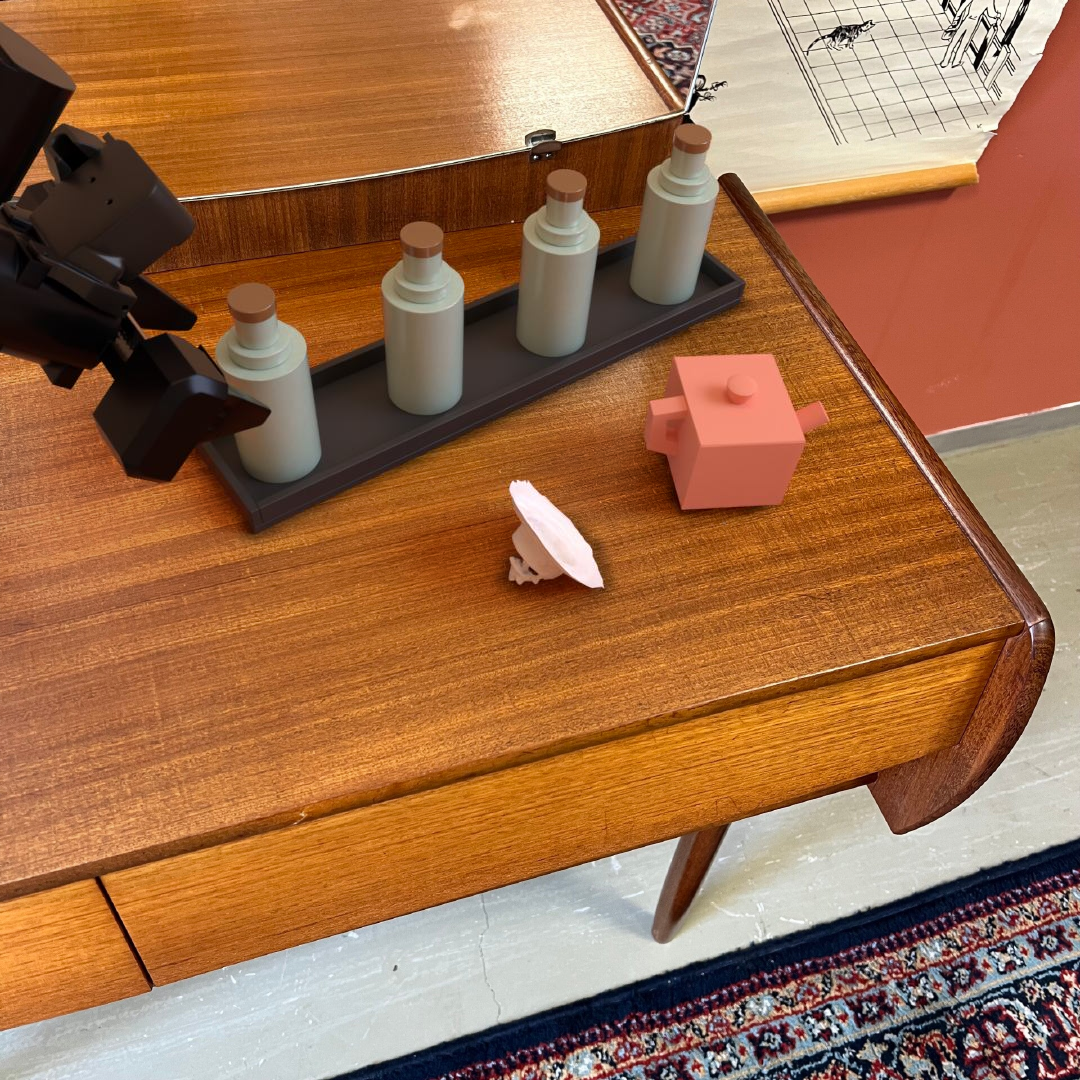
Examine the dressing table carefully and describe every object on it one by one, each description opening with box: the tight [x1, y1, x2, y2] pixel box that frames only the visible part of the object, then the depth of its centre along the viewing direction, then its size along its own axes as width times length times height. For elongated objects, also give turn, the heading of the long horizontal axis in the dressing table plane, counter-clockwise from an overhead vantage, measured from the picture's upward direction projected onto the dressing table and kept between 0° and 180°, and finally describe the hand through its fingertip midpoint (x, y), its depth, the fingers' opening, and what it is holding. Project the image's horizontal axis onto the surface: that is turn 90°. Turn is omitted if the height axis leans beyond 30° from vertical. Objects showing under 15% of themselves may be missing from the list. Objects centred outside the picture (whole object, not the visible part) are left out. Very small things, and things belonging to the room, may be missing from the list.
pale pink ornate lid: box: [508, 479, 605, 589], centre depth 61 cm, size 8×5×8 cm
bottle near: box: [380, 221, 465, 415], centre depth 66 cm, size 5×5×13 cm
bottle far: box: [629, 123, 720, 305], centre depth 74 cm, size 5×5×13 cm
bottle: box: [214, 282, 321, 483], centre depth 61 cm, size 5×5×13 cm
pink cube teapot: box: [643, 353, 830, 511], centre depth 65 cm, size 8×12×8 cm, turn 97°
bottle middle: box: [516, 168, 601, 357], centre depth 70 cm, size 5×5×13 cm
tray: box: [194, 233, 747, 534], centre depth 72 cm, size 42×9×2 cm, turn 127°
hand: (228, 367), depth 58 cm, fingers open, 9 cm apart
